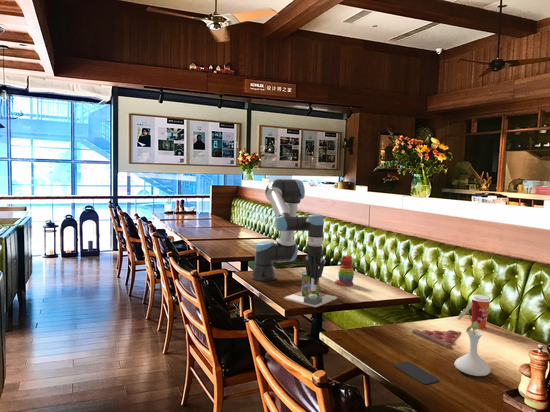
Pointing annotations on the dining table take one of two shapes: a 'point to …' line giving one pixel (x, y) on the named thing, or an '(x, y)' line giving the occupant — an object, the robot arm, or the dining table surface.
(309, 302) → the picture board
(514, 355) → the dining table surface
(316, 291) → the chalk box
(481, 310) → the paper cup
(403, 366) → the phone
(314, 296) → the button
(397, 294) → the dining table surface
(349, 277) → the stacking bear
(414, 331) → the pizza slice
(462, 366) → the flower in vase
